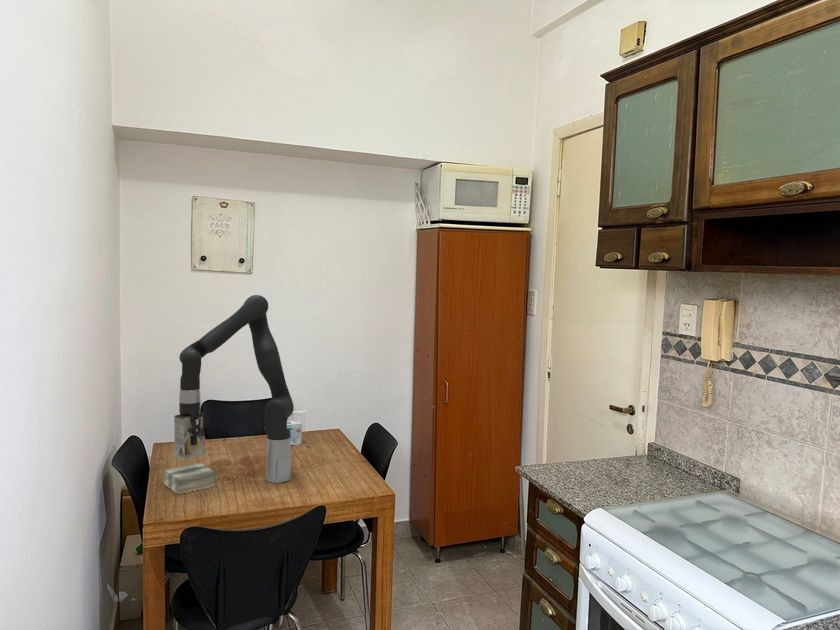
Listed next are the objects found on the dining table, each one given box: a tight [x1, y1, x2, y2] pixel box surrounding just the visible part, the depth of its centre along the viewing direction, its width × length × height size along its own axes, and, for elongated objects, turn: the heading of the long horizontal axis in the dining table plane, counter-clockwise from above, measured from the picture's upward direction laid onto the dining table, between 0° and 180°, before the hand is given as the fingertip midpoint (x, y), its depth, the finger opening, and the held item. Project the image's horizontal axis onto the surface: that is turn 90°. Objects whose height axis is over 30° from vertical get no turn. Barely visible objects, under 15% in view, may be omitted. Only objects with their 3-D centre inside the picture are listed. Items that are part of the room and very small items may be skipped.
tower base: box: [163, 462, 216, 495], centre depth 226 cm, size 14×14×6 cm
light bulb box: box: [287, 419, 303, 447], centre depth 286 cm, size 11×7×11 cm, turn 118°
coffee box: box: [174, 412, 206, 460], centre depth 225 cm, size 9×6×16 cm
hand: (189, 442), depth 225 cm, fingers closed on coffee box, 7 cm apart
